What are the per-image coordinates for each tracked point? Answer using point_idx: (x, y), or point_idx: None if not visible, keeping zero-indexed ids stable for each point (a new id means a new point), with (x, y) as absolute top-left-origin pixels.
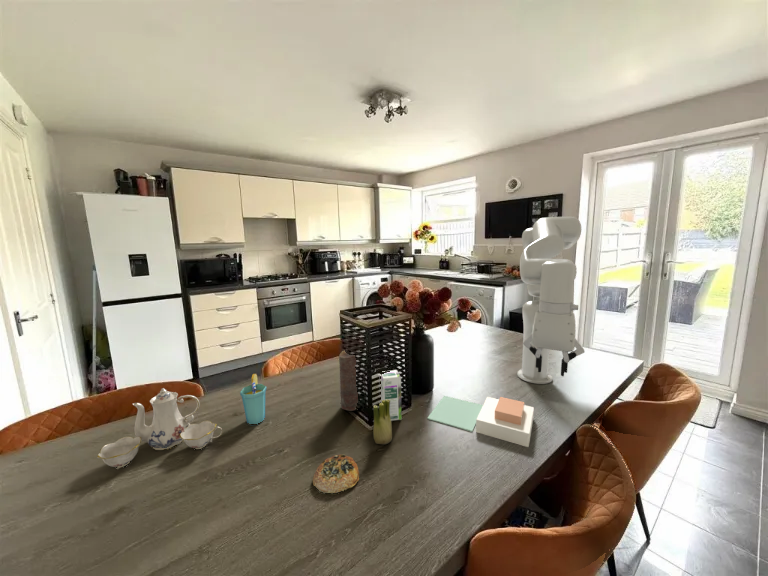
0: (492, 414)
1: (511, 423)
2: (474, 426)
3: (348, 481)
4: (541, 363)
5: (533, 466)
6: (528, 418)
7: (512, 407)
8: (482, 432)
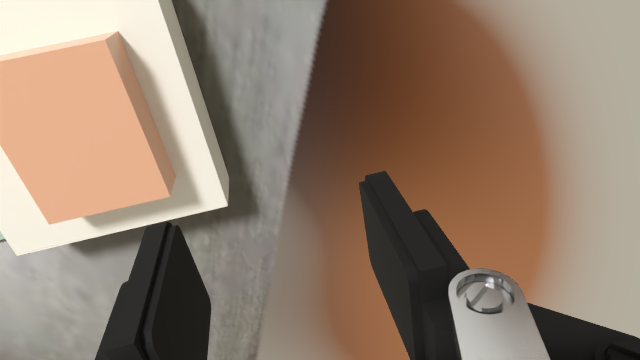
0: None
1: None
2: None
3: None
4: (195, 349)
5: (272, 244)
6: (176, 101)
7: (91, 144)
8: None
